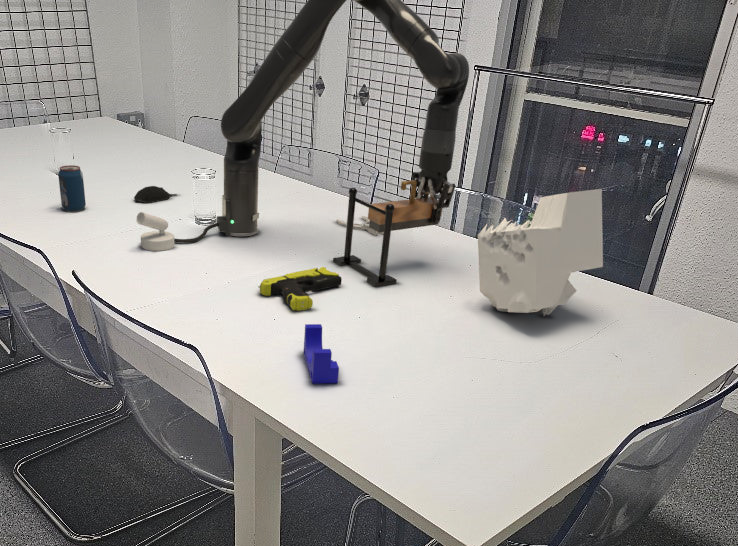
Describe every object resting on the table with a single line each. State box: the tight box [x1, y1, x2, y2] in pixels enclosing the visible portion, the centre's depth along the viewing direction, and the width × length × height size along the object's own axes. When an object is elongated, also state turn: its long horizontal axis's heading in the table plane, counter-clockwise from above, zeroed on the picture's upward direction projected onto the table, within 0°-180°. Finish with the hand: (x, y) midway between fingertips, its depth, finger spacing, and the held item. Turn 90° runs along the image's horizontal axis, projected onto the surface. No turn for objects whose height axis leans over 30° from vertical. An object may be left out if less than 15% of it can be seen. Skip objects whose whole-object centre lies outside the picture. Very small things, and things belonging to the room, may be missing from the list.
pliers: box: [336, 215, 384, 236], centre depth 212 cm, size 10×2×15 cm
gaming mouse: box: [133, 185, 177, 203], centre depth 232 cm, size 6×15×4 cm, turn 128°
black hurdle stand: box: [332, 187, 398, 288], centre depth 176 cm, size 6×19×18 cm, turn 27°
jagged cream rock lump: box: [477, 188, 604, 317], centre depth 157 cm, size 20×16×25 cm
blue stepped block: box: [302, 323, 340, 385], centre depth 135 cm, size 12×4×6 cm, turn 5°
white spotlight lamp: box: [135, 211, 175, 252], centre depth 191 cm, size 9×10×10 cm
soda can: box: [57, 164, 87, 213], centre depth 217 cm, size 7×7×12 cm
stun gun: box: [257, 266, 343, 312], centre depth 167 cm, size 3×19×15 cm
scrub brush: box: [367, 179, 443, 234], centre depth 177 cm, size 18×5×11 cm, turn 117°
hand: (427, 220), depth 182 cm, fingers closed on scrub brush, 5 cm apart
